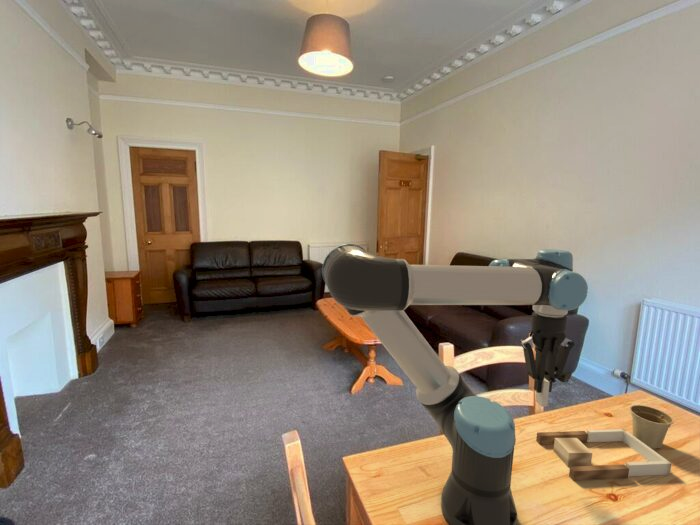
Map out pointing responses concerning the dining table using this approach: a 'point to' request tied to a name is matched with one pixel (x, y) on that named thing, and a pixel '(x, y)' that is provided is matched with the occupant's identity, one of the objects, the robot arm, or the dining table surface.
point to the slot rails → (585, 471)
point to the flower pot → (650, 425)
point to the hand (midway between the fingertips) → (541, 403)
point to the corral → (655, 461)
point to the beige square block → (572, 452)
